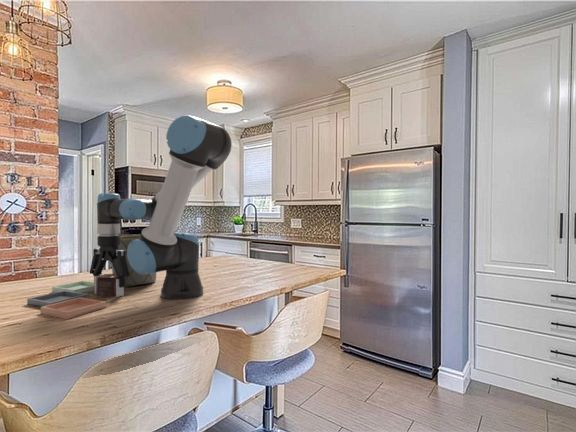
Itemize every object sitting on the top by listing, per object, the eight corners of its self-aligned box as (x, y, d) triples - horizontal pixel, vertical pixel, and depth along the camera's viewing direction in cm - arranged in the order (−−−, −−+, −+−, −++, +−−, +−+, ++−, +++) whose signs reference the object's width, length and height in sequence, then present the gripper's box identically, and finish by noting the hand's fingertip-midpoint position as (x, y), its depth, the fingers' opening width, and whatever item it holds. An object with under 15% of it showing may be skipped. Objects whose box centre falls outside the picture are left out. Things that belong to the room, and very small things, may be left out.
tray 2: (104, 288, 134) (104, 283, 134) (73, 295, 123) (73, 290, 123) (83, 285, 139) (83, 280, 139) (52, 292, 128) (52, 286, 128)
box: (104, 293, 127) (104, 273, 127) (121, 292, 128) (121, 273, 127) (96, 297, 121) (96, 277, 121) (114, 297, 121) (114, 277, 121)
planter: (102, 283, 144) (102, 236, 143) (145, 276, 158) (145, 234, 158) (122, 290, 131) (122, 239, 131) (166, 282, 146) (166, 237, 146)
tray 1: (87, 299, 117) (87, 294, 117) (51, 309, 106) (51, 303, 106) (64, 295, 122) (64, 290, 122) (27, 304, 111) (27, 298, 111)
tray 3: (105, 307, 108) (105, 301, 108) (67, 319, 97) (67, 312, 97) (80, 303, 113) (80, 297, 113) (40, 313, 102) (40, 307, 102)
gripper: (140, 235, 123) (140, 295, 123) (96, 233, 132) (97, 288, 132) (122, 237, 116) (123, 300, 116) (78, 234, 125) (78, 293, 125)
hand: (109, 294), depth 124 cm, fingers open, 11 cm apart
